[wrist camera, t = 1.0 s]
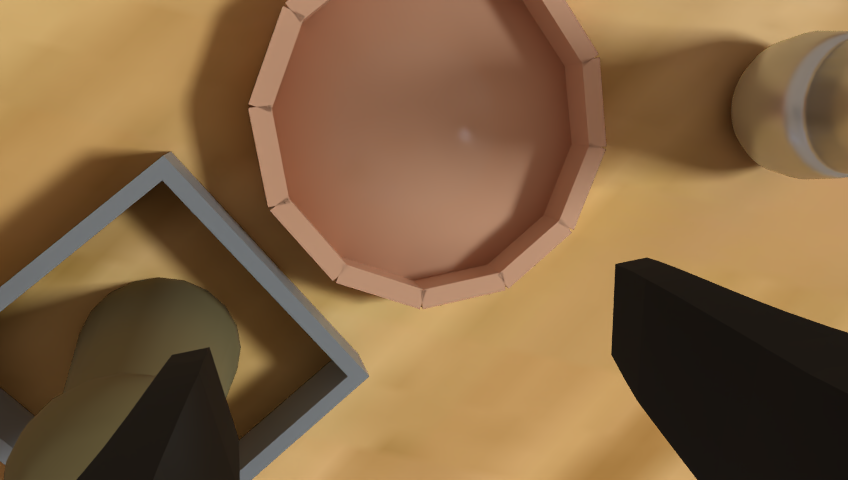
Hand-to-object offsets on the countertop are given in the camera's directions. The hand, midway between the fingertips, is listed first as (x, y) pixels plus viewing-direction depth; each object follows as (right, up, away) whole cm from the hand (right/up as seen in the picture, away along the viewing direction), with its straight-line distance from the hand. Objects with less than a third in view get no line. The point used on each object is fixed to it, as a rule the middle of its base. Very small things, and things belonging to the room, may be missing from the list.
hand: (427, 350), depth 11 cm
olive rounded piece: (-11, -2, +14) cm, 18 cm away
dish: (0, +7, +15) cm, 17 cm away
